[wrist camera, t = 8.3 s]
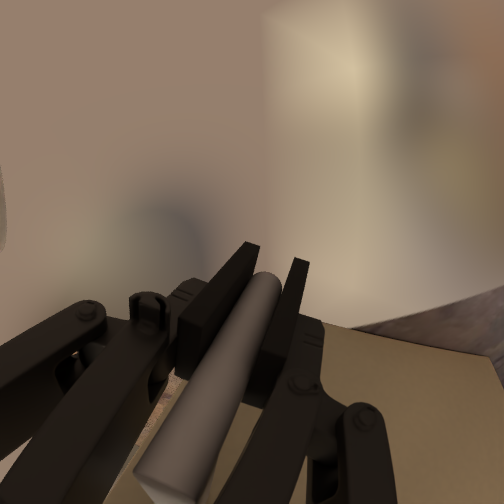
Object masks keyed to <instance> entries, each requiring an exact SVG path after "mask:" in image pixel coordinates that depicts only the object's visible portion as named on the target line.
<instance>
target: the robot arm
mask: <svg viewBox="0 0 504 504" xmlns="http://www.w3.org/2000/svg"><path fill="white" fill-rule="evenodd" d="M259 249H260V246H258V245H255V244H252V243H249V242H246V241H245V242H244V243H243V245H242V246H241V247H240V248H239V249H238V250H237V251H236V252H235V253H234V255H233V256H232V257H231V258H230V259H229V260H228V261H227V262H226V264H225V265H224V266H223V267H222V268H221V269H220V270H219V271H218V273H217V274H216V275H215V276H214V277H213V278H212V279H211V280H210V281H209V283H207V282H204V281H202V280H199V279H196V278H191V279H189V280H186V281H184V282H182V283H181V284H180V285H179V286H178V287H177V288H176V290H174V291H173V292H172V293H171V295H169V296H168V297H167V298H166V297H164V296H162V295H161V294H158V293H154V292H139V293H135V294H133V295H132V296H130V297H129V309H130V319H129V320H122V319H118V318H113V317H109V316H106V310H105V308H104V306H103V305H102V304H101V303H99V302H97V301H92V300H83V301H79V302H77V303H75V304H73V305H71V306H69V307H67V308H66V309H64V310H62V311H60V312H58V313H56V314H55V315H53V316H51V317H49V318H48V319H46V320H44V321H43V322H40V323H39V324H37V325H35V326H34V327H32V328H30V329H28V330H27V331H25V332H23V333H21V334H20V335H18V336H16V337H15V338H13V339H11V340H10V341H8V342H6V343H4V344H3V345H1V346H0V461H1V460H3V459H4V458H5V457H7V456H8V455H9V454H10V453H12V452H13V451H14V450H16V449H17V448H18V447H19V446H21V445H22V444H23V443H25V442H26V441H27V440H29V439H30V438H31V437H32V439H31V440H30V441H29V443H28V444H27V446H26V447H25V448H24V450H23V451H22V453H21V454H20V455H19V457H18V458H17V460H16V461H15V462H14V464H13V465H12V467H11V468H10V470H9V471H8V473H7V474H6V476H5V477H4V479H3V480H2V482H1V483H0V504H103V502H104V500H105V498H106V496H107V495H108V493H109V491H110V489H111V487H112V485H113V483H114V481H115V480H116V478H117V476H118V474H119V472H120V470H121V468H122V467H123V465H124V463H125V461H126V459H127V457H128V456H129V454H130V452H131V450H132V448H133V446H134V444H135V443H136V441H137V439H138V437H139V435H140V434H141V432H142V430H143V428H144V426H145V424H146V423H147V421H148V419H149V417H150V415H151V413H152V412H153V410H154V408H155V406H156V404H157V403H158V401H159V399H160V397H161V395H162V394H163V392H164V390H165V388H166V386H167V384H168V380H169V373H170V372H171V371H172V369H173V368H174V367H175V374H174V375H175V376H178V377H180V378H182V379H184V380H186V381H189V380H190V378H191V376H192V375H193V373H194V371H195V370H196V368H197V367H198V365H199V363H200V362H201V360H202V358H203V357H204V355H205V353H206V352H207V350H208V348H209V347H210V345H211V344H212V342H213V340H214V339H215V337H216V335H217V334H218V332H219V330H220V329H221V327H222V325H223V324H224V322H225V320H226V319H227V317H228V315H229V314H230V312H231V310H232V309H233V307H234V305H235V304H236V302H237V300H238V299H239V297H240V295H241V294H242V292H243V290H244V289H245V287H246V285H247V284H248V282H249V280H250V279H251V277H252V276H253V273H254V269H255V265H256V261H257V257H258V253H259ZM309 264H310V262H308V261H305V260H302V259H299V258H296V257H295V258H294V260H293V263H292V266H291V269H290V271H289V274H288V277H287V280H286V283H285V285H284V288H283V291H282V294H281V296H280V299H279V302H278V304H277V307H276V310H275V312H274V315H273V318H272V320H271V323H270V326H269V328H268V331H267V333H266V336H265V339H264V341H263V344H262V346H261V349H260V352H259V354H258V357H257V360H256V363H255V366H254V368H253V371H252V374H251V377H250V379H249V382H248V385H247V387H246V390H245V393H244V395H243V398H242V401H241V403H244V404H247V405H250V406H253V407H256V408H259V409H263V410H262V413H261V415H260V417H259V419H258V420H257V422H256V424H255V426H254V428H253V430H252V433H251V435H250V437H249V439H248V441H247V443H246V445H245V447H244V449H243V451H242V453H241V455H240V457H239V458H238V460H237V462H236V464H235V466H234V468H233V470H232V472H231V474H230V475H229V477H228V479H227V481H226V483H225V484H224V486H223V488H222V490H221V491H220V493H219V495H218V497H217V498H216V500H215V502H214V504H289V502H290V500H291V497H292V495H293V492H294V489H295V486H296V484H297V481H298V478H299V475H300V472H301V469H302V466H303V463H304V460H305V457H306V456H307V483H306V504H398V501H397V493H396V485H395V477H394V470H393V464H392V458H391V452H390V446H389V441H388V435H387V430H386V425H385V421H384V418H383V416H382V414H381V412H380V411H379V410H378V409H377V408H376V407H374V406H373V405H371V404H369V403H365V402H355V403H353V404H351V405H349V406H348V407H347V406H345V405H343V404H341V403H340V402H338V401H336V400H334V399H333V398H331V397H330V396H329V395H328V394H327V393H326V392H325V391H324V389H323V385H322V383H321V381H320V373H321V365H322V356H323V347H324V337H325V328H324V326H323V324H322V322H321V320H318V319H315V318H312V317H309V316H305V315H302V314H299V309H300V304H301V300H302V296H303V291H304V287H305V282H306V278H307V273H308V268H309ZM76 351H77V352H78V353H77V354H74V353H75V352H76ZM72 354H74V355H72Z"/></svg>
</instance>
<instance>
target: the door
mask: <svg viewBox="0 0 504 504" xmlns="http://www.w3.org/2000/svg"><path fill="white" fill-rule="evenodd" d="M281 292H282V285H281V282H280V280H279V279H278V278H277V277H276V276H275V275H274V274H272V273H269V272H259V273H256V274H254V275H253V276H252V277H251V279H250V280H249V282H248V284H247V285H246V287H245V289H244V290H243V292H242V294H241V295H240V297H239V299H238V300H237V302H236V304H235V305H234V307H233V309H232V310H231V312H230V314H229V315H228V317H227V319H226V320H225V322H224V324H223V325H222V327H221V329H220V330H219V332H218V334H217V335H216V337H215V339H214V340H213V342H212V344H211V345H210V347H209V348H208V350H207V352H206V353H205V355H204V357H203V358H202V360H201V362H200V363H199V365H198V367H197V368H196V370H195V371H194V373H193V375H192V376H191V378H190V380H189V381H186V380H184V379H183V380H182V382H181V384H180V385H179V387H178V388H177V390H176V391H175V393H174V395H173V396H172V398H171V399H170V401H169V402H168V404H167V405H166V407H165V409H164V410H163V412H162V413H161V415H160V416H159V418H158V419H157V421H156V423H155V424H154V426H153V427H152V429H151V430H150V432H149V433H148V435H147V436H146V438H145V439H144V441H143V443H142V444H141V446H140V447H139V449H138V450H137V452H136V453H135V455H134V456H133V458H132V460H131V461H130V462H129V464H128V466H127V467H126V469H125V470H124V472H123V473H122V475H121V476H120V478H119V479H118V481H117V482H116V484H115V485H114V487H113V488H112V490H111V491H110V493H109V494H108V496H107V497H106V499H105V500H104V502H103V504H214V502H215V500H216V498H217V497H218V495H219V493H220V491H221V490H222V488H223V486H224V484H225V483H226V481H227V479H228V477H229V475H230V474H231V472H232V470H233V468H234V466H235V464H236V462H237V460H238V458H239V457H240V455H241V453H242V451H243V449H244V447H245V445H246V443H247V441H248V439H249V437H250V435H251V433H252V430H253V428H254V426H255V424H256V422H257V420H258V419H259V417H260V415H261V413H262V410H263V409H259V408H256V407H253V406H250V405H247V404H244V403H241V401H242V398H243V395H244V393H245V390H246V387H247V385H248V382H249V379H250V377H251V374H252V371H253V368H254V366H255V363H256V360H257V357H258V354H259V352H260V349H261V346H262V344H263V341H264V339H265V336H266V333H267V331H268V328H269V326H270V323H271V320H272V318H273V315H274V312H275V310H276V307H277V304H278V302H279V299H280V296H281ZM322 324H323V326H324V328H325V337H324V347H323V356H322V365H321V373H320V381H321V383H322V385H323V389H324V391H325V392H326V393H327V394H328V395H329V396H330V397H331V398H333V399H334V400H336V401H338V402H340V403H341V404H343V405H345V406H347V407H348V406H349V405H351V404H353V403H355V402H365V403H369V404H371V405H373V406H374V407H376V408H377V409H378V410H379V411H380V412H381V414H382V416H383V418H384V421H385V425H386V430H387V435H388V441H389V446H390V452H391V458H392V464H393V470H394V477H395V485H396V493H397V501H398V504H504V389H503V387H502V385H501V382H500V380H499V378H498V376H497V374H496V371H495V369H494V367H493V365H492V363H491V361H490V359H489V357H485V356H478V355H472V354H466V353H460V352H455V351H449V350H444V349H438V348H433V347H428V346H423V345H418V344H413V343H408V342H404V341H399V340H394V339H390V338H385V337H381V336H377V335H372V334H368V333H364V332H360V331H355V330H351V329H347V328H343V327H339V326H335V325H331V324H328V323H324V322H322ZM306 483H307V456H306V457H305V460H304V463H303V466H302V469H301V472H300V475H299V478H298V481H297V484H296V486H295V489H294V492H293V495H292V497H291V500H290V502H289V504H306Z"/></svg>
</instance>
